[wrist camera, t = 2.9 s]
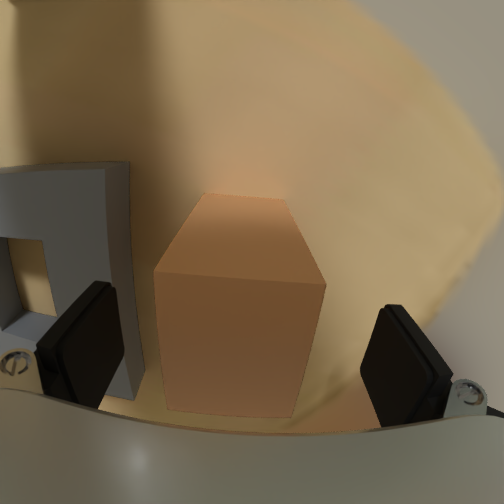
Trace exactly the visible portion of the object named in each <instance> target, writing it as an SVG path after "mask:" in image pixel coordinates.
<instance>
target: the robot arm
mask: <svg viewBox="0 0 504 504" xmlns="http://www.w3.org/2000/svg"><path fill="white" fill-rule="evenodd" d="M36 347H37V349H36V350H35V351H34V353H33V352H32V351H30V350H28V349H25V348H15V349H11V350H8V351H7V352H5V353H3V354H2V355H1V356H0V504H504V413H503V412H501V411H498V410H496V409H494V408H491V407H489V406H487V394H486V392H485V390H484V389H483V388H482V387H481V386H480V385H479V384H477V383H476V382H474V381H471V380H467V379H459V380H456V381H455V382H454V383H452V382H451V380H450V379H451V377H452V376H453V372H452V371H451V369H450V368H449V367H448V365H447V364H446V362H445V361H444V360H443V358H442V357H441V356H440V354H439V353H438V351H437V350H436V349H435V347H434V346H433V345H432V343H431V342H430V341H429V340H428V338H427V337H426V336H425V334H424V333H423V332H422V330H421V329H420V328H419V326H418V325H417V324H416V323H415V321H414V320H413V319H412V317H411V316H410V315H409V314H408V312H407V311H406V310H405V309H404V307H403V306H402V305H394V304H387V305H385V307H384V308H381V309H380V311H379V314H378V317H377V320H376V323H375V326H374V329H373V332H372V335H371V338H370V341H369V344H368V347H367V350H366V352H365V355H364V358H363V361H362V363H361V366H360V374H361V377H362V379H363V382H364V384H365V387H366V389H367V391H368V394H369V396H370V399H371V401H372V404H373V406H374V409H375V412H376V414H377V417H378V419H379V422H380V425H381V427H382V428H374V429H364V430H354V431H341V432H323V433H254V432H236V431H223V430H212V429H203V428H194V427H186V426H179V425H172V424H166V423H160V422H154V421H148V420H143V419H138V418H133V417H128V416H124V415H119V414H115V413H111V412H106V411H102V410H98V407H99V405H100V403H101V401H102V399H103V397H104V395H105V393H106V391H107V389H108V387H109V385H110V383H111V381H112V379H113V377H114V375H115V373H116V371H117V369H118V367H119V365H120V363H121V361H122V359H123V357H124V352H125V347H124V341H123V335H122V329H121V322H120V315H119V308H118V300H117V292H116V288H115V287H112V284H111V283H110V282H105V281H97V280H95V281H94V282H93V283H92V284H91V285H90V286H89V287H88V288H87V289H86V290H85V291H84V292H83V293H82V294H81V295H80V296H79V297H78V298H77V299H76V300H75V301H74V302H73V303H72V304H71V306H70V307H69V308H68V309H67V310H66V311H65V312H64V313H63V314H62V315H61V316H60V317H59V319H58V320H57V321H56V322H55V323H54V324H53V325H52V326H51V327H50V329H49V330H48V331H47V332H46V333H45V334H44V335H43V337H42V338H41V339H40V340H39V341H38V342H37V343H36Z"/></svg>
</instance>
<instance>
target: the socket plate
mask: <svg viewBox="0 0 504 504" xmlns="http://www.w3.org/2000/svg"><path fill="white" fill-rule="evenodd" d="M129 174H130V162H78V163H56V164H39V165H26V166H14V167H4V168H0V356H1V355H2V354H3V353H5V352H7V351H8V350H11V349H15V348H25V349H28V350H30V351H32V352H33V353H34V351H35V350H36V349H37V347H36V343H37V342H38V341H39V340H40V339H41V338H42V337H43V335H44V334H45V333H46V332H47V331H48V330H49V329H50V327H51V326H52V325H53V324H54V323H55V322H56V321H57V320H58V319H59V317H60V316H61V315H62V314H63V313H64V312H65V311H66V310H67V309H68V308H69V307H70V306H71V304H72V303H73V302H74V301H75V300H76V299H77V298H78V297H79V296H80V295H81V294H82V293H83V292H84V291H85V290H86V289H87V288H88V287H89V286H90V285H91V284H92V283H93V282H94V281H95V280H97V281H105V282H110V283H111V284H112V287H115V288H116V292H117V300H118V308H119V315H120V322H121V329H122V335H123V341H124V347H125V352H124V357H123V359H122V361H121V363H120V365H119V367H118V369H117V371H116V373H115V375H114V377H113V379H112V381H111V383H110V385H109V387H108V389H107V391H106V393H105V395H109V396H113V397H118V398H123V399H128V400H133V401H134V400H135V397H136V395H137V392H138V389H139V386H140V383H141V380H142V378H143V375H144V372H145V366H144V360H143V354H142V348H141V341H140V334H139V326H138V319H137V310H136V301H135V291H134V280H133V268H132V254H131V235H130V200H129ZM7 237H8V238H19V239H30V240H41V241H42V243H43V249H44V256H45V262H46V267H47V273H48V278H49V283H50V287H51V292H52V296H53V301H54V305H55V309H56V313H57V317H53V316H49V315H44V314H40V313H35V312H31V311H27V310H23V308H22V305H21V301H20V297H19V294H18V290H17V286H16V282H15V278H14V273H13V269H12V264H11V259H10V254H9V249H8V243H7Z"/></svg>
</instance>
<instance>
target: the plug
mask: <svg viewBox="0 0 504 504" xmlns="http://www.w3.org/2000/svg"><path fill="white" fill-rule="evenodd" d="M153 277H154V294H155V308H156V320H157V331H158V341H159V351H160V359H161V367H162V375H163V383H164V390H165V396H166V403H167V409H168V410H175V411H183V412H191V413H200V414H210V415H222V416H237V417H261V418H291V417H292V414H293V411H294V407H295V404H296V401H297V397H298V394H299V391H300V387H301V384H302V380H303V377H304V373H305V369H306V366H307V362H308V358H309V355H310V351H311V347H312V343H313V339H314V335H315V331H316V327H317V323H318V319H319V315H320V311H321V306H322V302H323V298H324V293H325V289H326V282H325V280H324V278H323V276H322V274H321V272H320V270H319V268H318V266H317V264H316V262H315V260H314V258H313V256H312V254H311V252H310V250H309V248H308V246H307V244H306V242H305V240H304V238H303V236H302V234H301V232H300V230H299V229H298V227H297V225H296V223H295V221H294V219H293V217H292V215H291V213H290V211H289V209H288V208H287V206H286V204H285V202H284V200H279V199H269V198H258V197H246V196H233V195H220V194H205V193H204V194H203V196H202V197H201V198H200V200H199V201H198V203H197V204H196V206H195V207H194V209H193V210H192V212H191V213H190V215H189V216H188V218H187V219H186V221H185V222H184V224H183V225H182V227H181V228H180V230H179V231H178V233H177V234H176V236H175V237H174V239H173V240H172V242H171V244H170V245H169V247H168V248H167V250H166V251H165V253H164V254H163V256H162V258H161V259H160V261H159V262H158V264H157V266H156V267H155V269H154V270H153Z"/></svg>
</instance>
